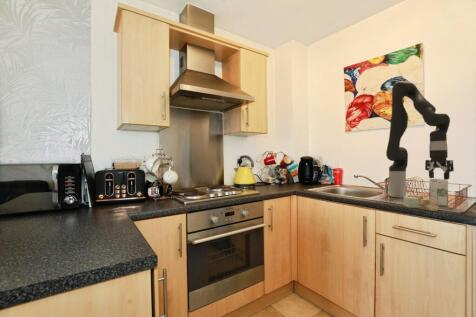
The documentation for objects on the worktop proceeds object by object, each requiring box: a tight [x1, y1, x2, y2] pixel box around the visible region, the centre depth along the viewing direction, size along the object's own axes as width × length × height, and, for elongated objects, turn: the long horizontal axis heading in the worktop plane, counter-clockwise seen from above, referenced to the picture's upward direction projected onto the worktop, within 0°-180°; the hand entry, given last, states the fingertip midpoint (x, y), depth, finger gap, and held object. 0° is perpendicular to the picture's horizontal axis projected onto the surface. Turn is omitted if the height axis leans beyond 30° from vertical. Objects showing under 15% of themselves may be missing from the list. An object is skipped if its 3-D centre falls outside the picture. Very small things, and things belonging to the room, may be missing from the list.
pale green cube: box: [407, 194, 424, 206], centre depth 129 cm, size 5×5×5 cm
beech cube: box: [420, 198, 440, 212], centre depth 117 cm, size 5×5×5 cm
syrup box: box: [428, 178, 449, 207], centre depth 126 cm, size 6×6×14 cm
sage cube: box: [403, 196, 420, 208], centre depth 124 cm, size 5×5×5 cm
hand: (438, 178), depth 125 cm, fingers open, 8 cm apart
